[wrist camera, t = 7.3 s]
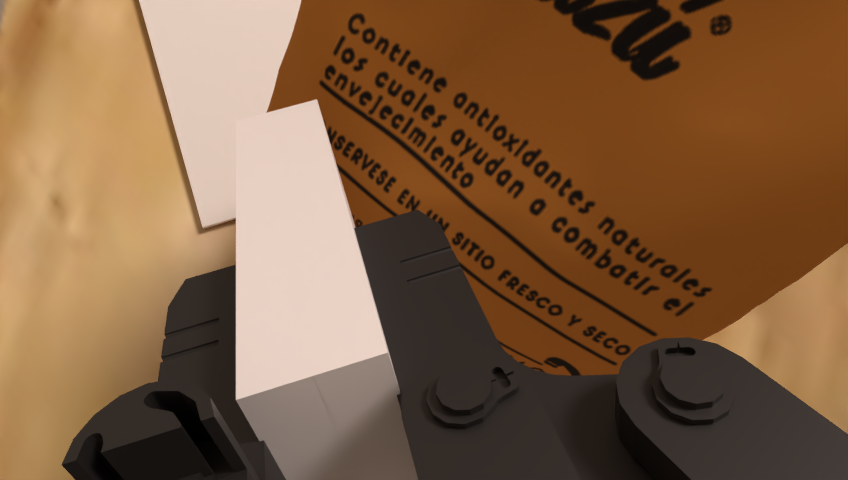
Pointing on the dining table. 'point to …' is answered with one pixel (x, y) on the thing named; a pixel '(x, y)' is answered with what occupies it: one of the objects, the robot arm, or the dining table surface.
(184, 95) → the mat
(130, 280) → the dining table surface
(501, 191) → the coffee package
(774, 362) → the dining table surface
